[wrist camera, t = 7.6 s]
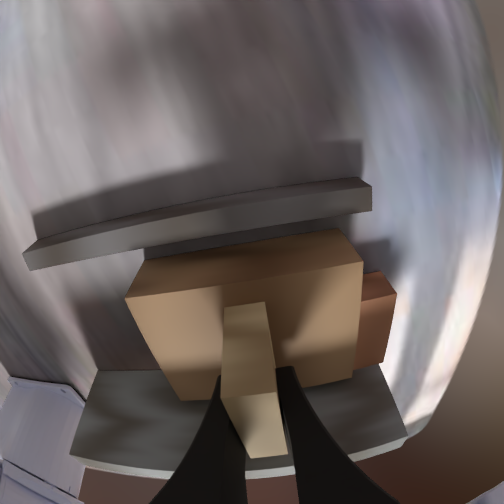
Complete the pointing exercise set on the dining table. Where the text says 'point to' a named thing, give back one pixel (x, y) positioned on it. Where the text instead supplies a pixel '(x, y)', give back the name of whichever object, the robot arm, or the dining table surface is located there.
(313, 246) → the tan box with handle
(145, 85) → the dining table surface
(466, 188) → the dining table surface
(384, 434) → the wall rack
